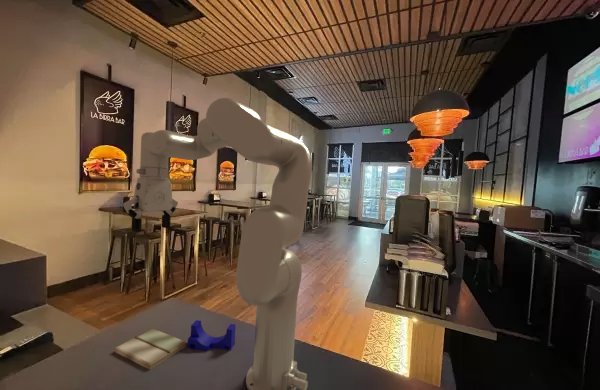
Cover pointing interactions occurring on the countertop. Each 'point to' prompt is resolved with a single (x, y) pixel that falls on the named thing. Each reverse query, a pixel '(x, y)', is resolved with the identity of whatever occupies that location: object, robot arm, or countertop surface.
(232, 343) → the cable clip
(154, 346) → the board
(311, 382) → the countertop surface
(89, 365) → the countertop surface
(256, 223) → the robot arm
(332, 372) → the countertop surface
